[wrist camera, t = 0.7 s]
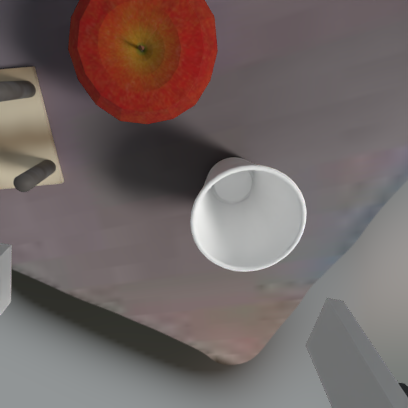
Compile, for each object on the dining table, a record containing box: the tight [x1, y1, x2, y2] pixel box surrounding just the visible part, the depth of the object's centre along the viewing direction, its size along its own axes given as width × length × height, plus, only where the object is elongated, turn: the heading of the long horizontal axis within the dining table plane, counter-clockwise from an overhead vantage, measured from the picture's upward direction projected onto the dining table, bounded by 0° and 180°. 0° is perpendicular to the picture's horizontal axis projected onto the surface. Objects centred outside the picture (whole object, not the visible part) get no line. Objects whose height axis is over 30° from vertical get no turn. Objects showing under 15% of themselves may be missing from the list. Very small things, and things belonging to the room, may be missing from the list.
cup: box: [190, 157, 306, 272], centre depth 33 cm, size 10×10×11 cm
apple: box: [68, 0, 218, 124], centre depth 27 cm, size 11×11×12 cm
